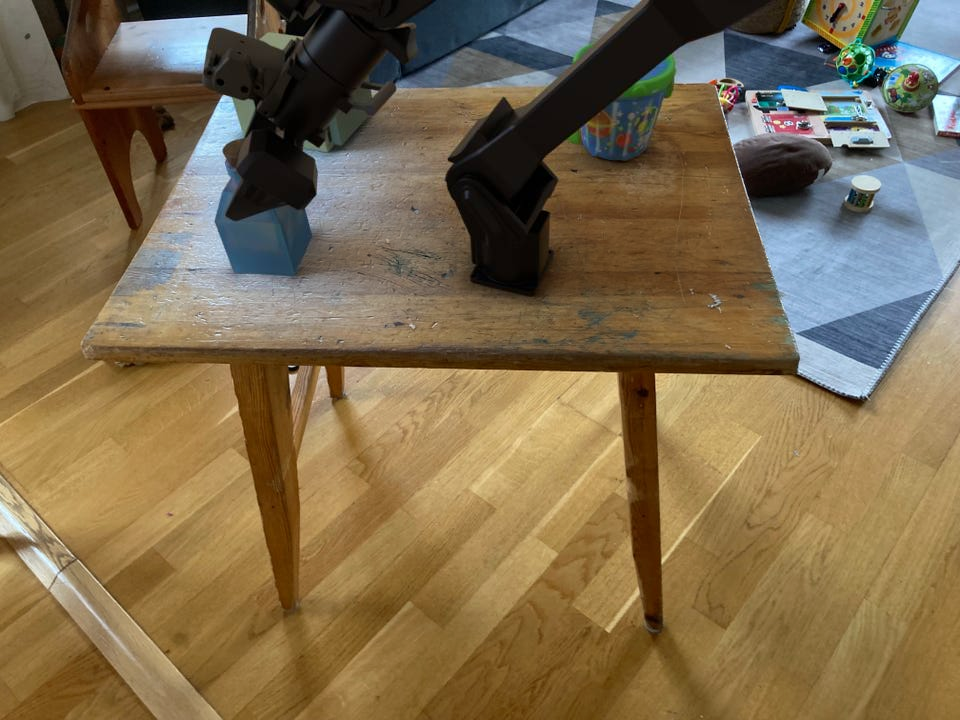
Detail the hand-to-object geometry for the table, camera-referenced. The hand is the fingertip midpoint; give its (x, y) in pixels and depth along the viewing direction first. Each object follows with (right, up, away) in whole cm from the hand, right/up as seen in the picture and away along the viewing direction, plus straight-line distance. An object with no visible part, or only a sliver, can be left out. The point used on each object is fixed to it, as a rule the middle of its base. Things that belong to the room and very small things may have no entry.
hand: (235, 188), depth 69 cm
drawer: (+5, +12, +20) cm, 24 cm away
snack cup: (+38, +9, +16) cm, 42 cm away
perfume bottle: (+2, -5, +5) cm, 8 cm away
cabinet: (+1, +13, +22) cm, 25 cm away
